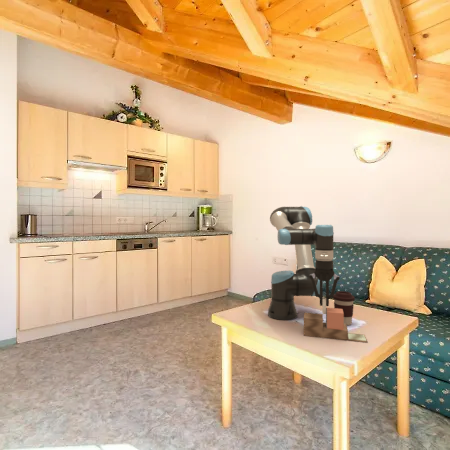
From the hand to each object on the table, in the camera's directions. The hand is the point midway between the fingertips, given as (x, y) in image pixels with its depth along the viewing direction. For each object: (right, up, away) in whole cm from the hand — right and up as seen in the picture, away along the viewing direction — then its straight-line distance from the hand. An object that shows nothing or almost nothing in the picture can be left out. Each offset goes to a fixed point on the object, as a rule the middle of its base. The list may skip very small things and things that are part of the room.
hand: (324, 313), depth 130 cm
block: (+1, -2, 0) cm, 2 cm away
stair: (+4, -10, -1) cm, 10 cm away
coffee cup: (+14, -10, +15) cm, 23 cm away
